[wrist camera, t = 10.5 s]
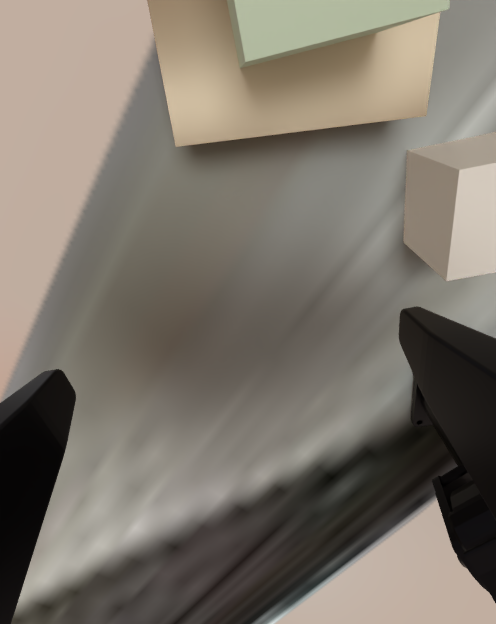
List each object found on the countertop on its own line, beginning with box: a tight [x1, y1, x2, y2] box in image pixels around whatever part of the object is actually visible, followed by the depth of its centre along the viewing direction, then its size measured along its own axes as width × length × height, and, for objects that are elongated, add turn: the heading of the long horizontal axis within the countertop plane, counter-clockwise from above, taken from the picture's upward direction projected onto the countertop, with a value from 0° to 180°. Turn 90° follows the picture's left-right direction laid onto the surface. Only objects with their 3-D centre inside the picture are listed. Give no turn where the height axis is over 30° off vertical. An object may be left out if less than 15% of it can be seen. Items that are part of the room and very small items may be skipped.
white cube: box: [403, 132, 496, 281], centre depth 18 cm, size 5×5×5 cm
